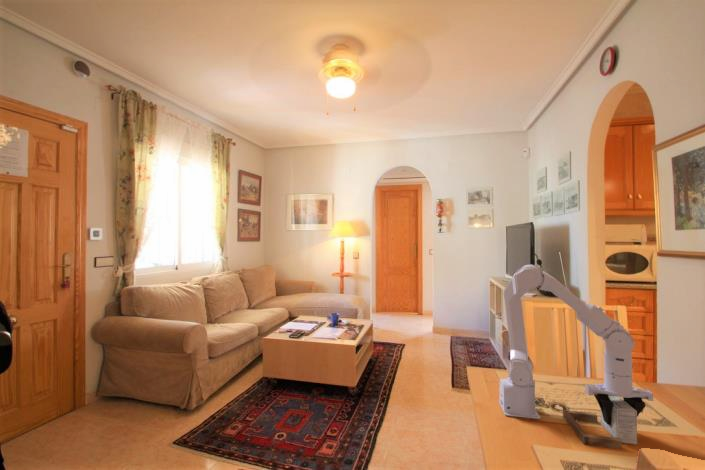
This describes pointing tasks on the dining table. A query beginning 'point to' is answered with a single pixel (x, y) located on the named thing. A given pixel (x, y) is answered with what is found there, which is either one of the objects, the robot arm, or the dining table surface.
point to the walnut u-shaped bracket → (587, 438)
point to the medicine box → (622, 421)
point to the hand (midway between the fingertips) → (618, 423)
